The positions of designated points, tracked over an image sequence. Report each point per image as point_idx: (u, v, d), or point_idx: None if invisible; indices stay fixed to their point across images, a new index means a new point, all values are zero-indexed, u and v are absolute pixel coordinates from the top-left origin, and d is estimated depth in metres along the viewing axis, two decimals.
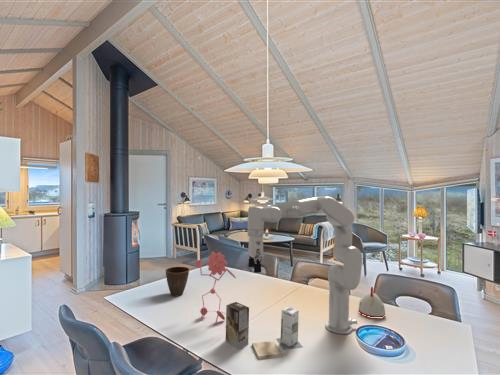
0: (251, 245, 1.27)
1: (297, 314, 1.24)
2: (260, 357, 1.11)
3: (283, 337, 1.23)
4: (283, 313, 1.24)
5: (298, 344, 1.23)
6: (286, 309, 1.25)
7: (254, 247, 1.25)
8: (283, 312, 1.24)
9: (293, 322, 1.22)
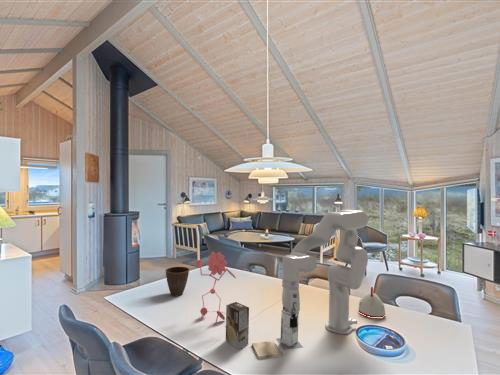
0: (287, 297, 1.22)
1: None
2: (260, 357, 1.11)
3: (283, 337, 1.23)
4: (283, 313, 1.24)
5: (298, 344, 1.23)
6: (286, 309, 1.25)
7: (290, 300, 1.20)
8: (283, 312, 1.24)
9: None
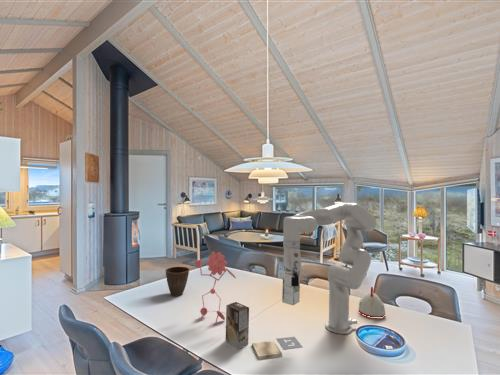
0: (288, 257, 1.23)
1: None
2: (260, 357, 1.11)
3: (285, 297, 1.24)
4: (284, 273, 1.24)
5: (298, 344, 1.23)
6: (287, 270, 1.26)
7: (292, 259, 1.21)
8: (284, 272, 1.24)
9: None
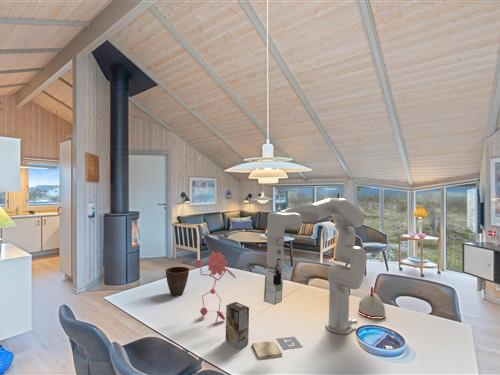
0: (271, 254, 1.18)
1: None
2: (260, 357, 1.11)
3: (267, 296, 1.18)
4: (267, 271, 1.19)
5: (298, 344, 1.23)
6: (270, 267, 1.21)
7: (274, 256, 1.15)
8: (267, 270, 1.19)
9: None
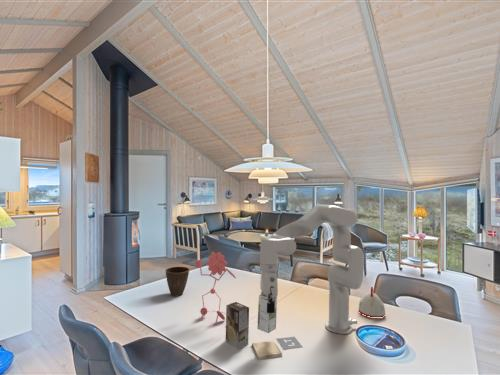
0: (264, 281, 1.16)
1: (275, 299, 1.18)
2: (260, 357, 1.11)
3: (260, 324, 1.16)
4: (260, 298, 1.17)
5: (298, 344, 1.23)
6: (264, 294, 1.18)
7: (268, 284, 1.13)
8: (260, 297, 1.17)
9: None
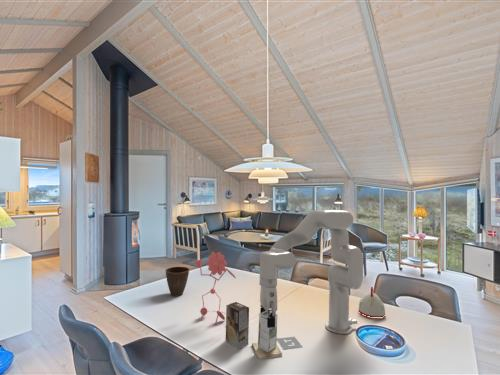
0: (264, 296, 1.15)
1: (276, 318, 1.17)
2: (260, 357, 1.11)
3: (261, 342, 1.16)
4: (261, 317, 1.17)
5: (298, 344, 1.23)
6: (264, 312, 1.18)
7: (267, 299, 1.13)
8: (261, 316, 1.17)
9: None
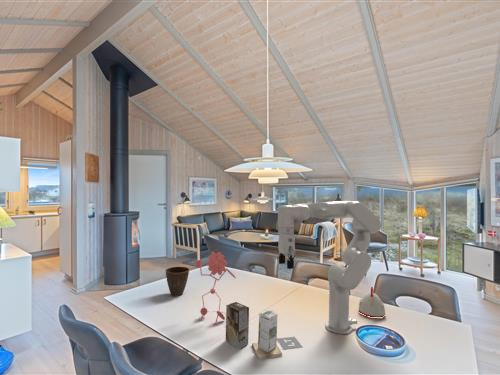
0: (283, 242, 1.32)
1: (275, 318, 1.17)
2: (260, 357, 1.11)
3: (261, 342, 1.16)
4: (261, 317, 1.17)
5: (298, 344, 1.23)
6: (264, 312, 1.18)
7: (286, 244, 1.30)
8: (261, 316, 1.17)
9: (271, 326, 1.15)
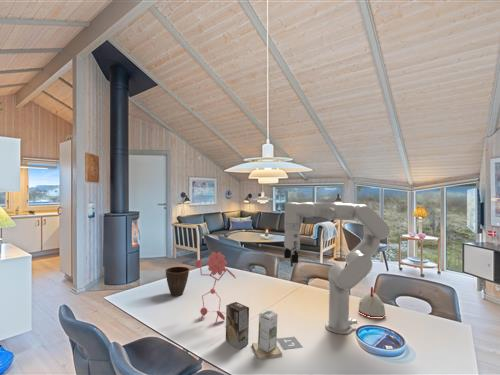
0: (288, 238, 1.38)
1: (276, 318, 1.17)
2: (260, 357, 1.11)
3: (261, 342, 1.16)
4: (261, 317, 1.17)
5: (298, 344, 1.23)
6: (264, 312, 1.18)
7: (292, 239, 1.36)
8: (261, 316, 1.17)
9: (271, 326, 1.15)
